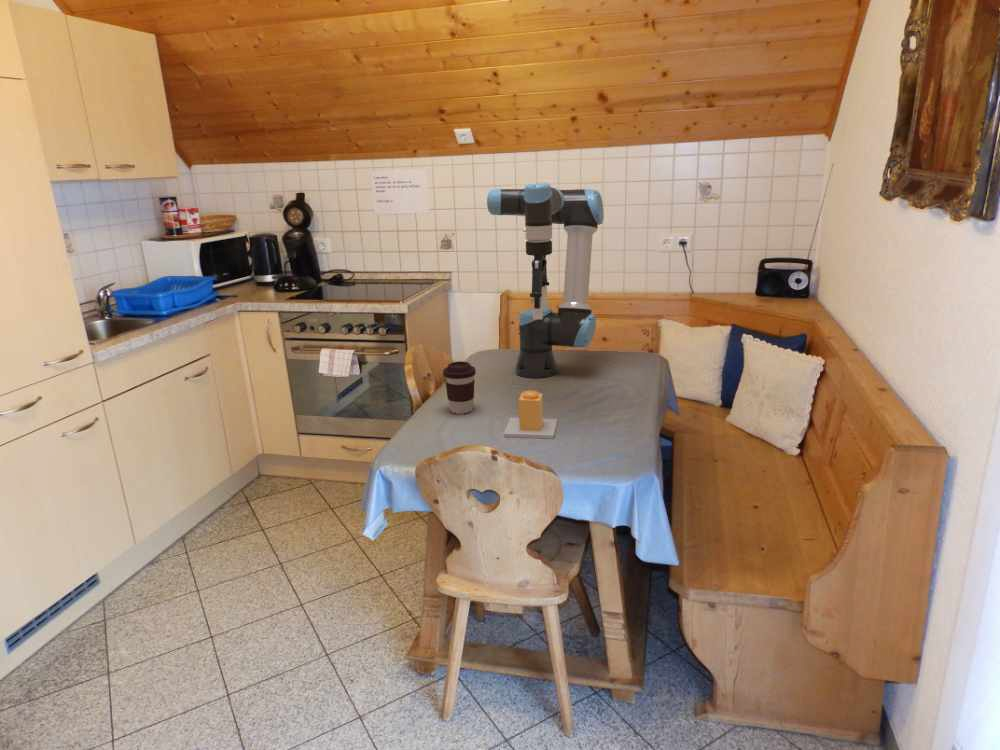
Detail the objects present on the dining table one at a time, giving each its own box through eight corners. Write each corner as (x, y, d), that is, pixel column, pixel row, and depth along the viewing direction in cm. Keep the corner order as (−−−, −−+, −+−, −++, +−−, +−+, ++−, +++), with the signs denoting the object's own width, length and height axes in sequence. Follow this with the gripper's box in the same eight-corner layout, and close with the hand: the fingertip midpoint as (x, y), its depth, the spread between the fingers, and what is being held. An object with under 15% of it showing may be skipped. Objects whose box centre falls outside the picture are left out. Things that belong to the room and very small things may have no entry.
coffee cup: (453, 418, 204) (450, 371, 200) (440, 408, 213) (437, 363, 208) (482, 412, 208) (480, 365, 204) (469, 402, 217) (466, 357, 212)
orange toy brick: (522, 421, 197) (521, 389, 194) (542, 422, 196) (542, 389, 193) (519, 429, 191) (518, 396, 188) (540, 430, 190) (540, 396, 187)
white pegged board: (510, 420, 201) (509, 398, 199) (557, 422, 198) (557, 400, 196) (503, 436, 190) (503, 413, 187) (553, 438, 187) (553, 415, 185)
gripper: (530, 234, 203) (532, 303, 210) (519, 247, 180) (522, 324, 187) (555, 234, 202) (556, 303, 209) (547, 246, 179) (549, 324, 186)
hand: (540, 313), depth 198 cm, fingers open, 13 cm apart
